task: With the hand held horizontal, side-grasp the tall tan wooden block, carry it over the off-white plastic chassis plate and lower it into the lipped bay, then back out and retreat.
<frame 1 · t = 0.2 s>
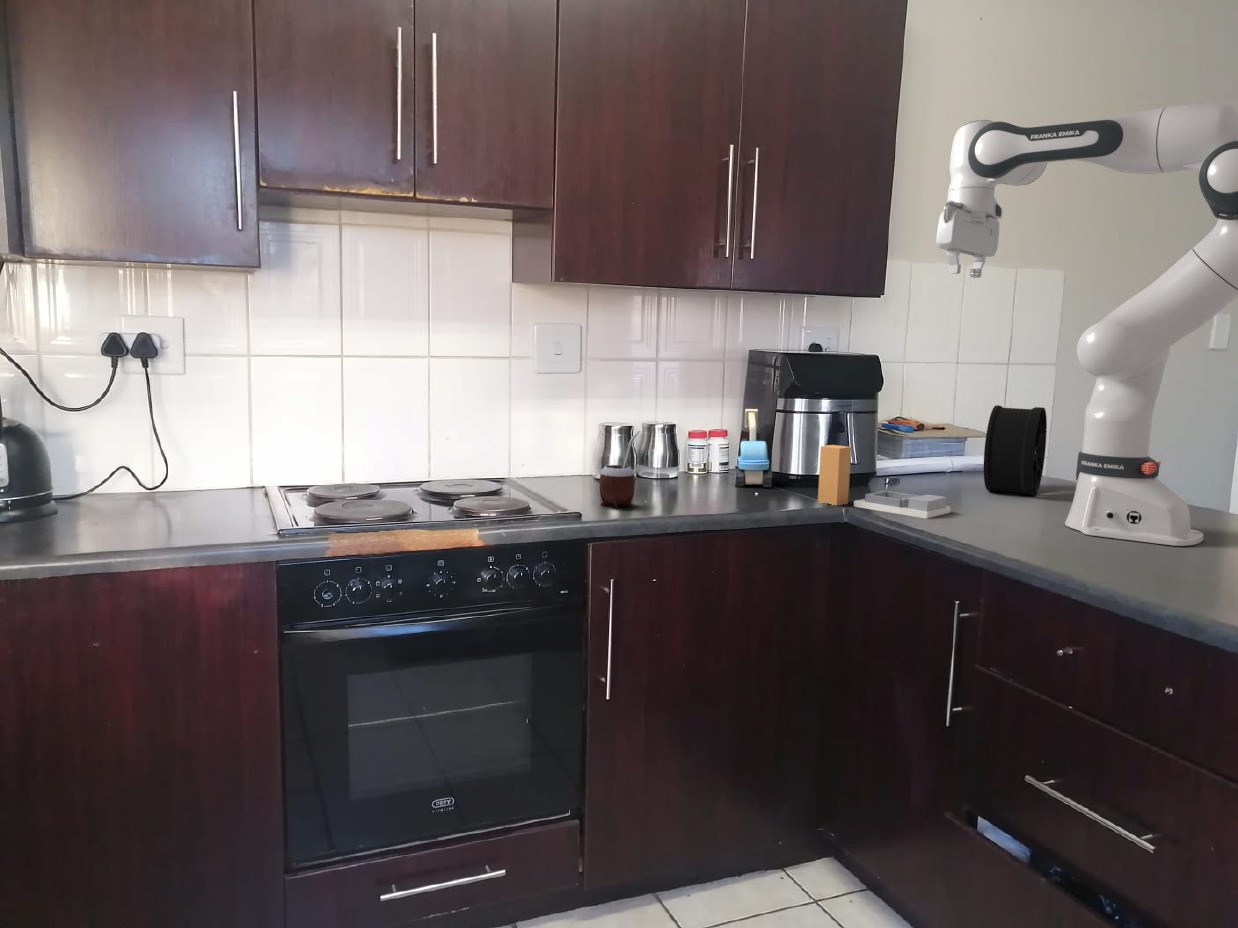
hand: (965, 275, 189), 48 cm above the countertop, tool pointing down, fingers open, 8 cm apart
chassis: (901, 509, 189), on the countertop
mate gourd: (617, 506, 186), on the countertop
car wheel rim: (1012, 493, 214), on the countertop
tall tan wooden block: (832, 503, 195), on the countertop
toy excavator: (751, 484, 219), on the countertop
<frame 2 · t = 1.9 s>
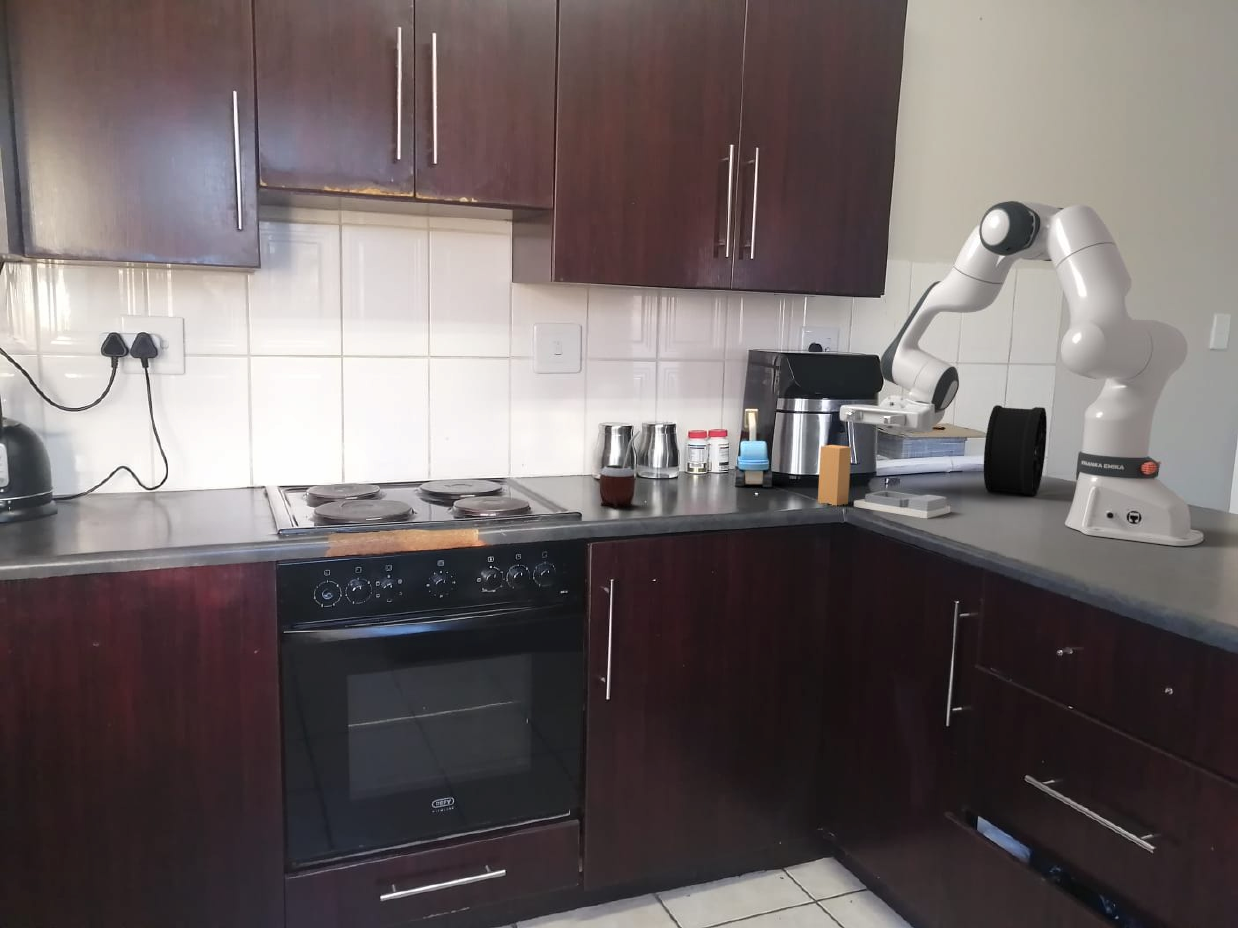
hand: (867, 418, 201), 17 cm above the countertop, tool horizontal, fingers open, 8 cm apart
nothing on the countertop moved.
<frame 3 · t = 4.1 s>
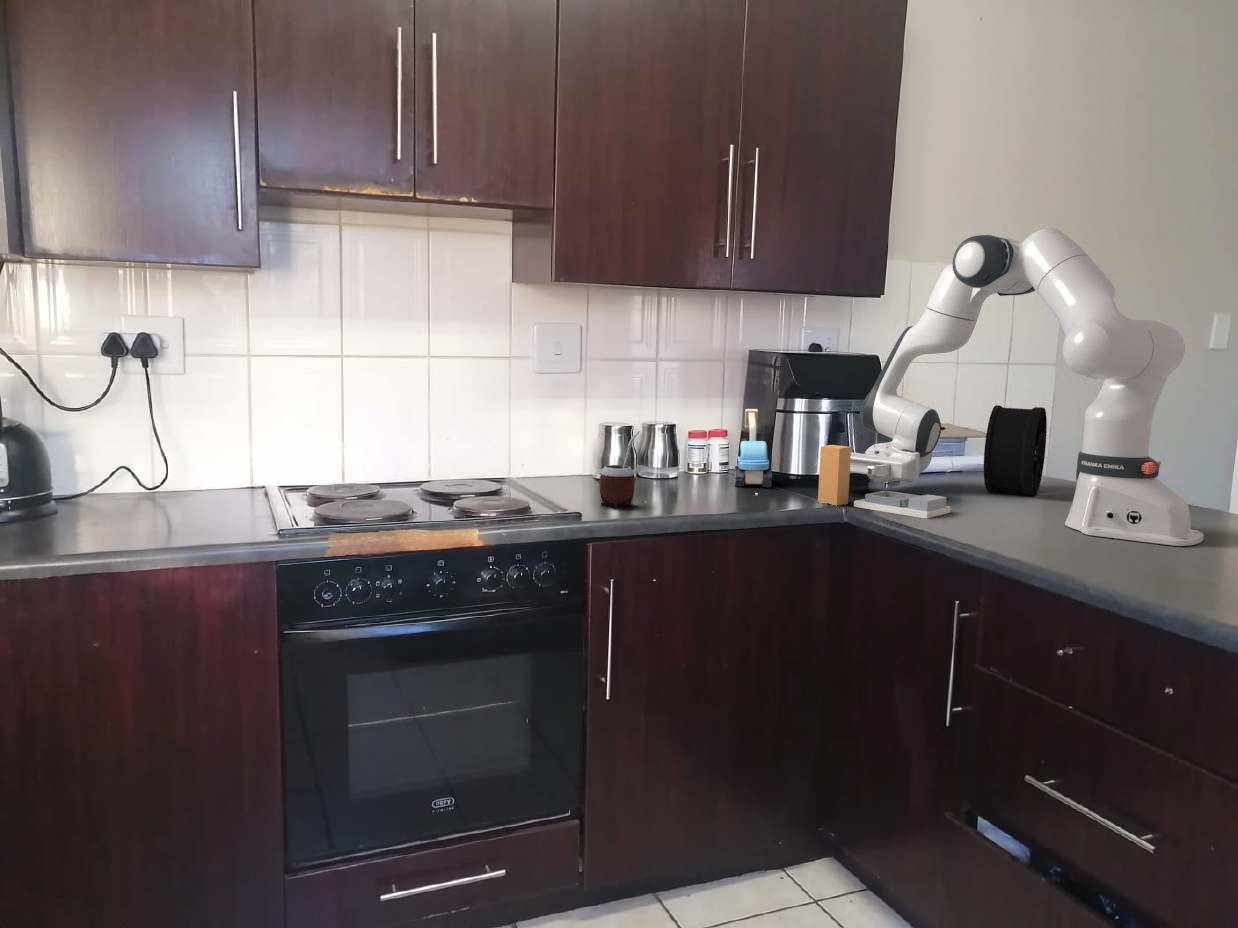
hand: (851, 467, 199), 7 cm above the countertop, tool horizontal, fingers open, 8 cm apart
nothing on the countertop moved.
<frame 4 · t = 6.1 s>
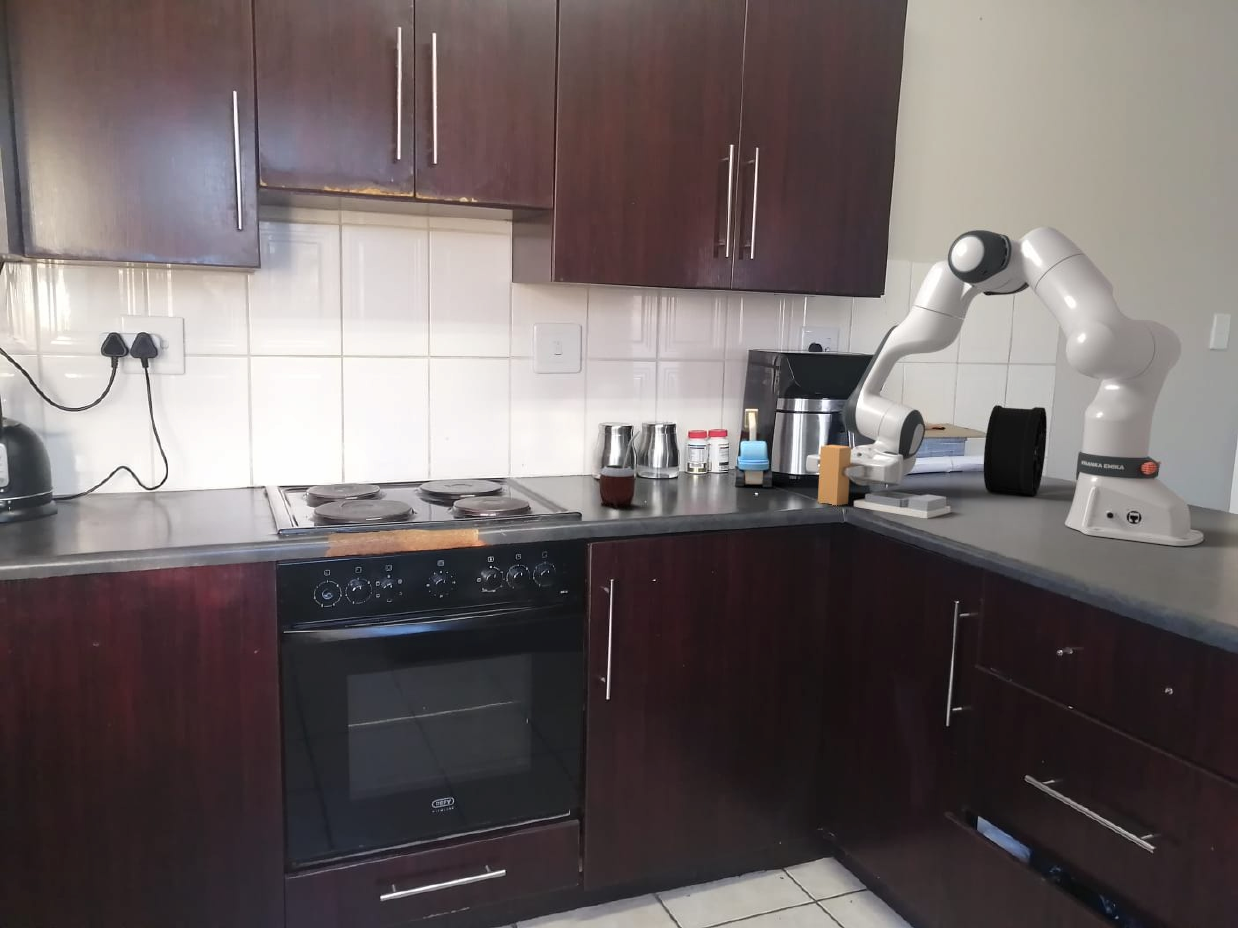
hand: (832, 470, 193), 7 cm above the countertop, tool horizontal, fingers closed on tall tan wooden block, 4 cm apart
tall tan wooden block: (832, 503, 195), on the countertop, touching gripper
everything else where it was.
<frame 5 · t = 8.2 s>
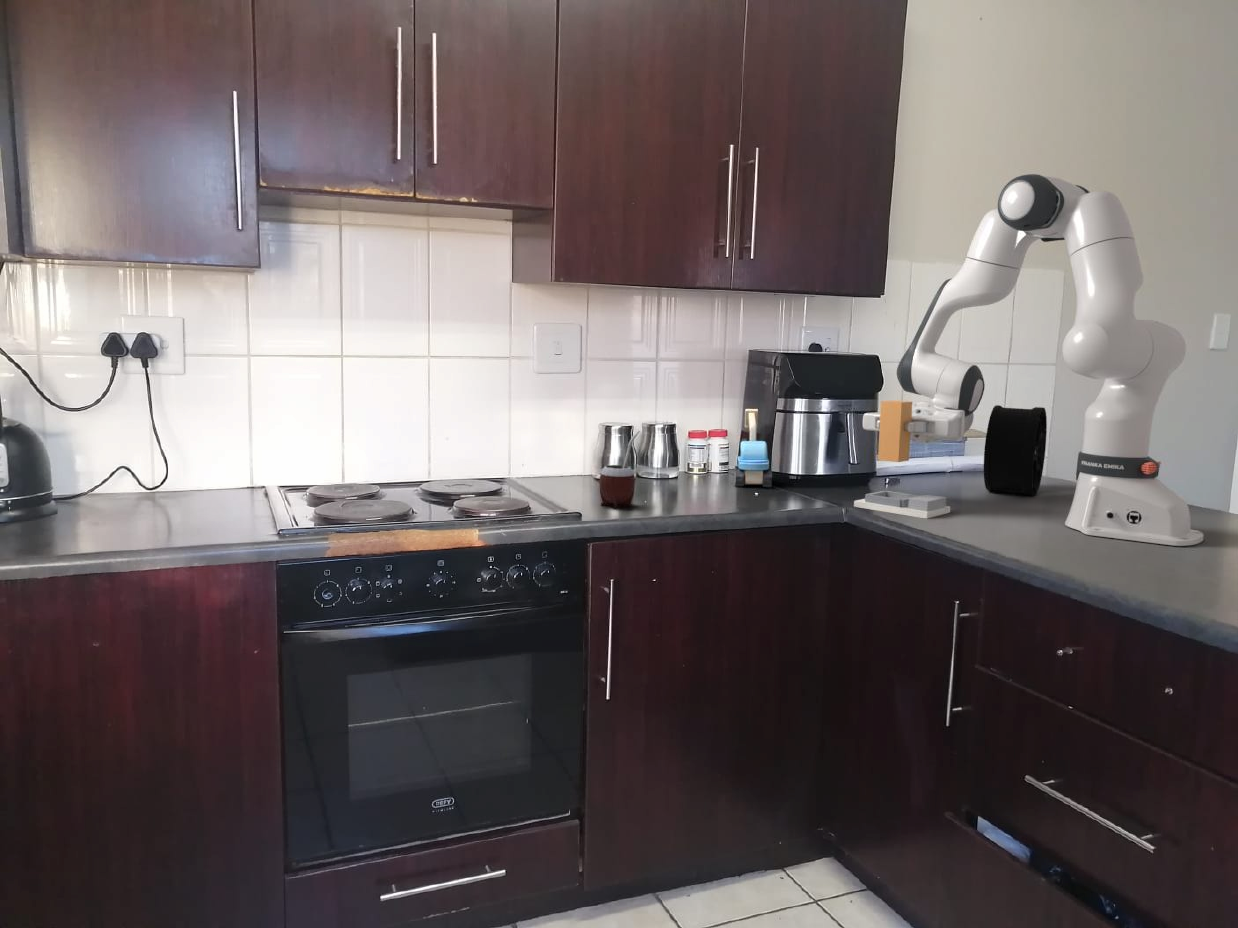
hand: (893, 426, 188), 17 cm above the countertop, tool horizontal, fingers closed on tall tan wooden block, 4 cm apart
tall tan wooden block: (893, 460, 189), point 10 cm above the countertop, touching gripper
everything else where it was.
when the fingers open (10 cm above the countertop, at t = 10.4 s): tall tan wooden block drops 2 cm, resting on chassis.
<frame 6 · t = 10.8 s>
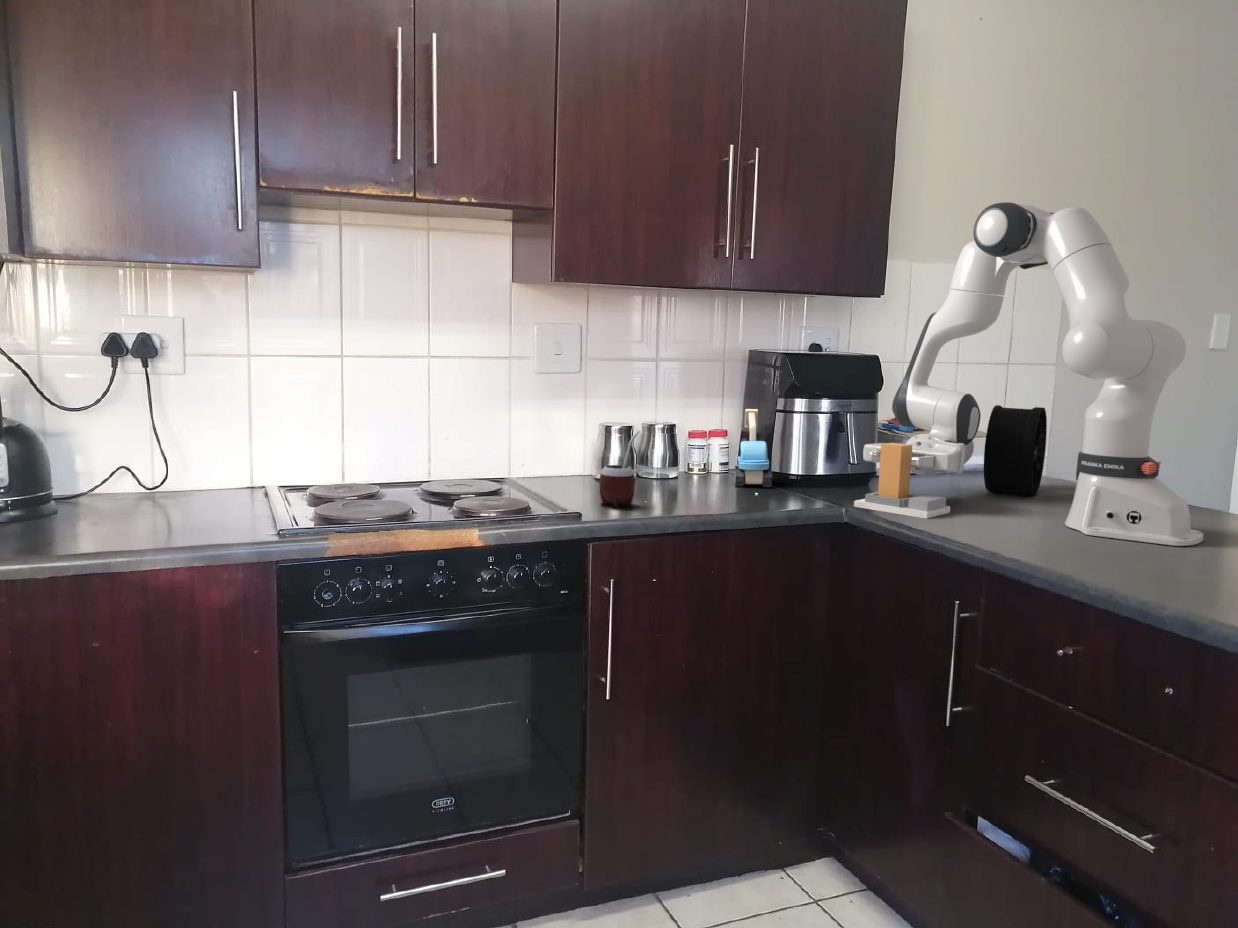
hand: (893, 459, 189), 10 cm above the countertop, tool horizontal, fingers open, 8 cm apart
tall tan wooden block: (893, 502, 191), point 1 cm above the countertop, touching chassis
everything else where it was.
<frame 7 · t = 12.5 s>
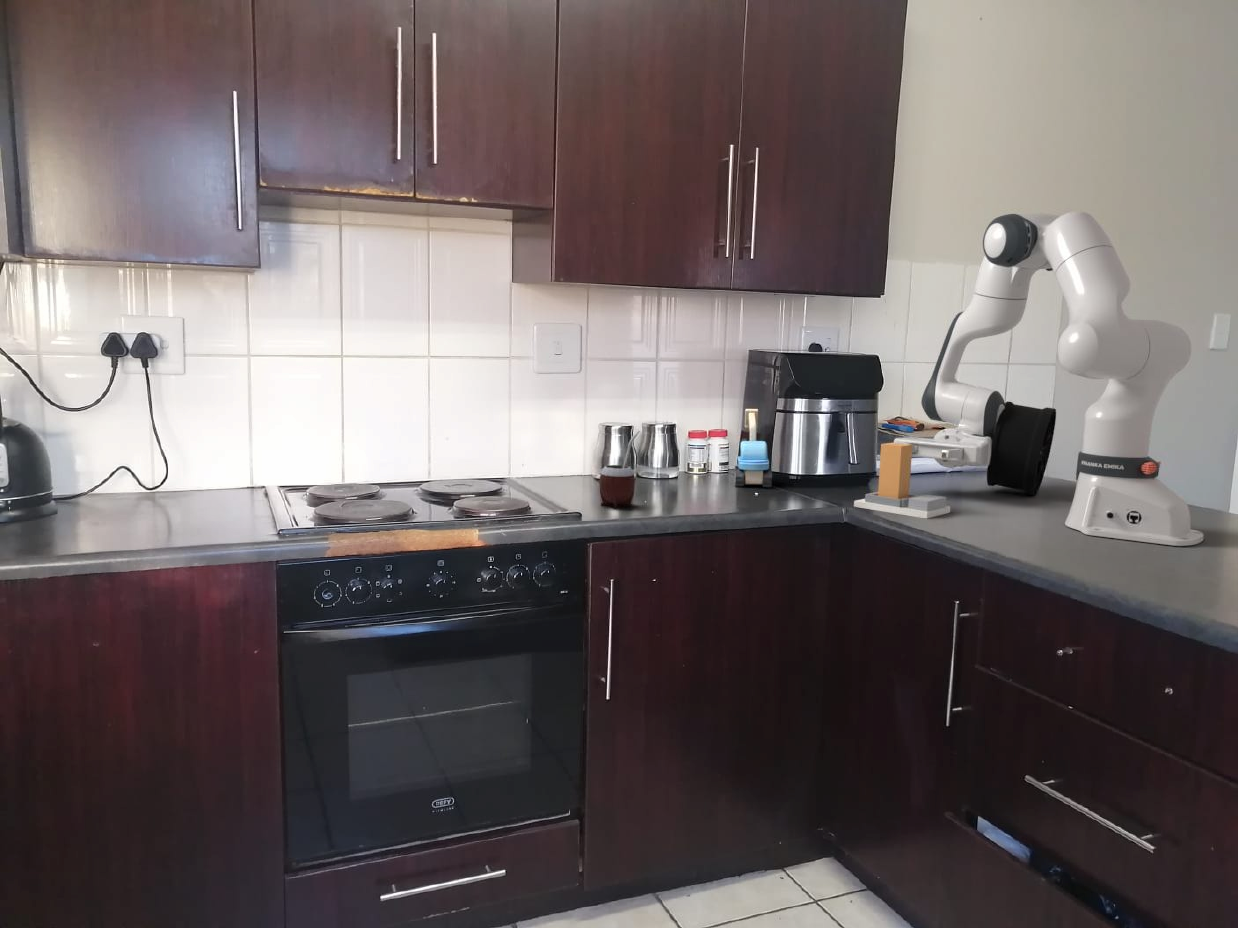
hand: (923, 452, 198), 11 cm above the countertop, tool horizontal, fingers open, 8 cm apart
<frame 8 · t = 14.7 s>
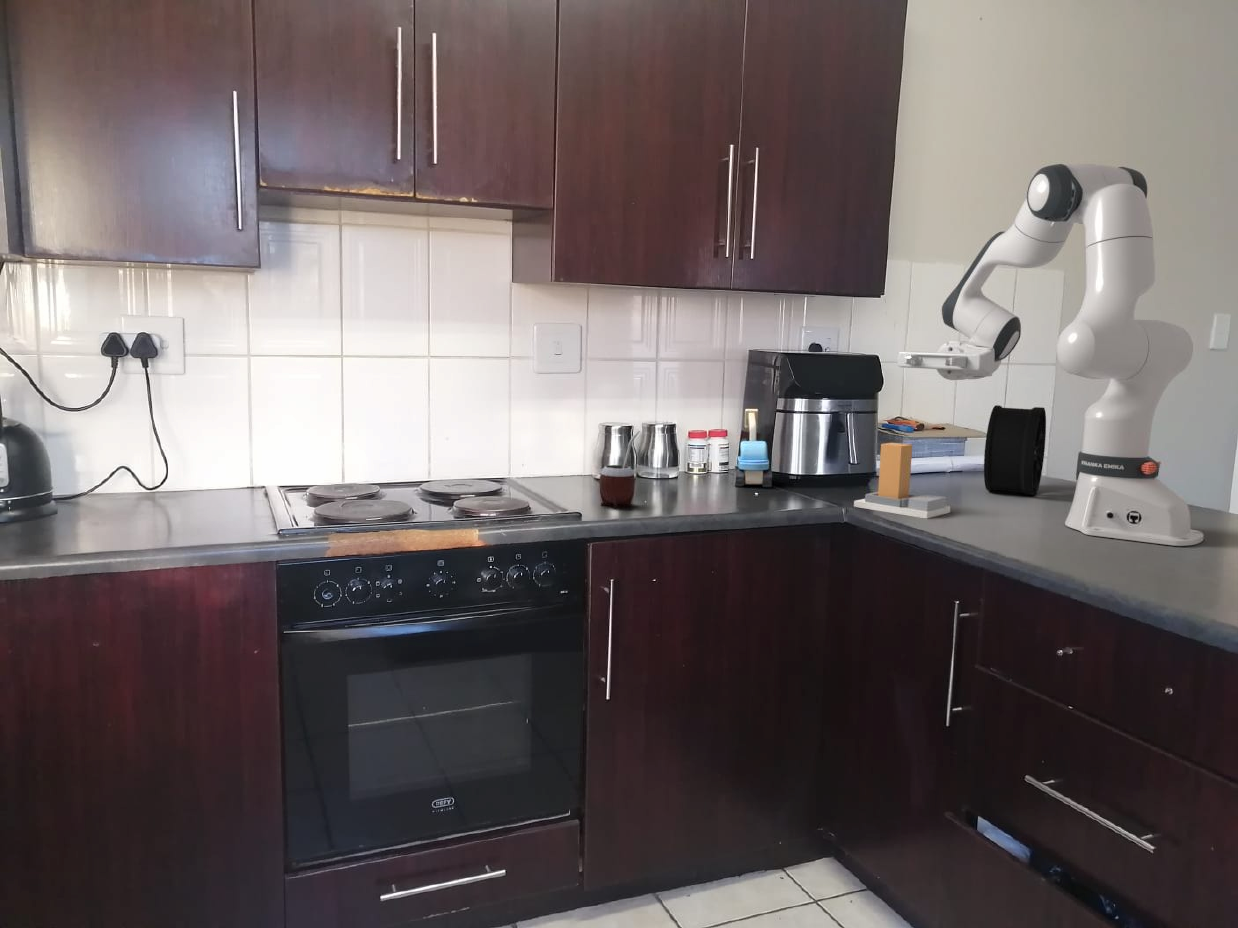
hand: (927, 361, 201), 30 cm above the countertop, tool horizontal, fingers open, 8 cm apart
at the end: tall tan wooden block 0.1 cm from the target spot on the chassis, point 1.2 cm above the chassis's base; tall tan wooden block tilted 0°; the gripper is holding nothing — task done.
